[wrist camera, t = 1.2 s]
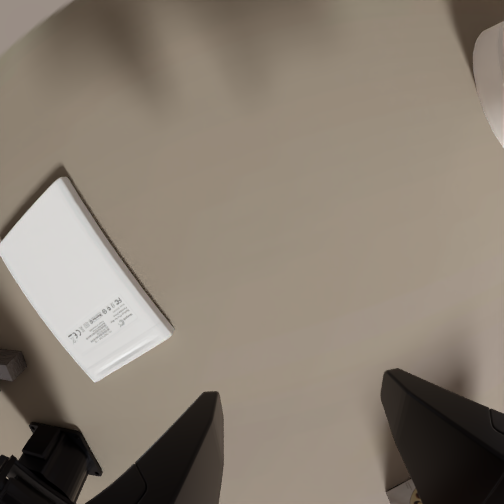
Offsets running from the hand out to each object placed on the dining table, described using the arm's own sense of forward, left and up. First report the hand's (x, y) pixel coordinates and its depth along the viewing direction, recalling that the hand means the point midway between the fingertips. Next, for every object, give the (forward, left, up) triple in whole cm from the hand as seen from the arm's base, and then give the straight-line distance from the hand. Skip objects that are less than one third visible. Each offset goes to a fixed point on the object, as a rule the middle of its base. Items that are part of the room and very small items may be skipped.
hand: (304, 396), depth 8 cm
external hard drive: (0, +13, -13) cm, 18 cm away
